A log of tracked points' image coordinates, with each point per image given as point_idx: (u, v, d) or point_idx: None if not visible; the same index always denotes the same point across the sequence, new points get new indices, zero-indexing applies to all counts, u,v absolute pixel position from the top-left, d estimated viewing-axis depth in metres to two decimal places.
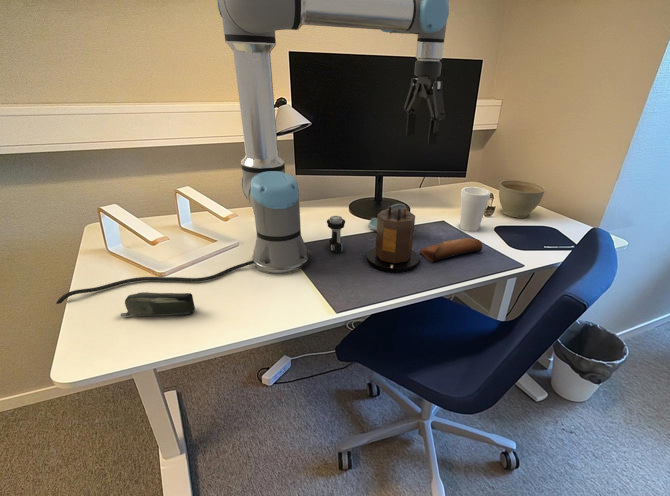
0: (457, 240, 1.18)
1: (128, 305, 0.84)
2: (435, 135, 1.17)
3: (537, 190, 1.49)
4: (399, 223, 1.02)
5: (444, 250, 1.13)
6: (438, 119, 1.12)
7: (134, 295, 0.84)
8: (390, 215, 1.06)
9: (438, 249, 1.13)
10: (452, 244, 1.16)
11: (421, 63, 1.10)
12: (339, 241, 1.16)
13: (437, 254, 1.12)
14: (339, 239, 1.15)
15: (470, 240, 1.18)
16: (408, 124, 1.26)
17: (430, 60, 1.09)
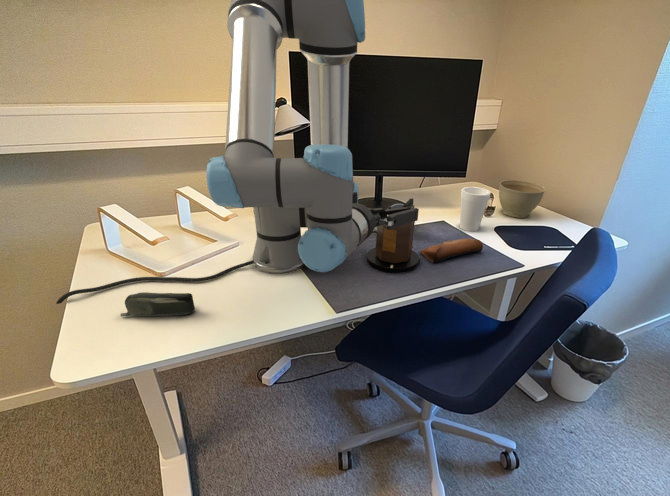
0: (458, 240, 1.18)
1: (128, 305, 0.84)
2: None
3: (537, 190, 1.49)
4: None
5: (445, 250, 1.13)
6: None
7: (134, 295, 0.84)
8: None
9: (439, 250, 1.13)
10: (453, 244, 1.15)
11: None
12: None
13: (438, 255, 1.12)
14: None
15: (470, 240, 1.18)
16: None
17: None
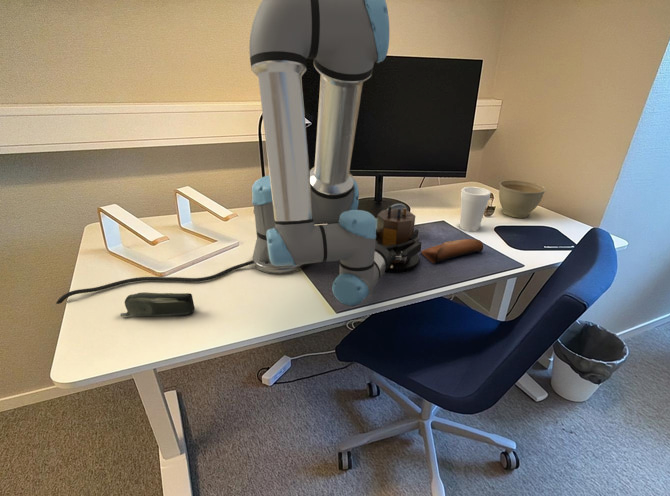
0: (458, 241, 1.18)
1: (128, 305, 0.84)
2: None
3: (537, 190, 1.49)
4: (399, 223, 1.02)
5: (445, 251, 1.13)
6: None
7: (134, 295, 0.84)
8: (390, 215, 1.06)
9: (440, 250, 1.12)
10: (453, 245, 1.15)
11: None
12: None
13: (440, 255, 1.12)
14: None
15: (471, 241, 1.18)
16: None
17: None
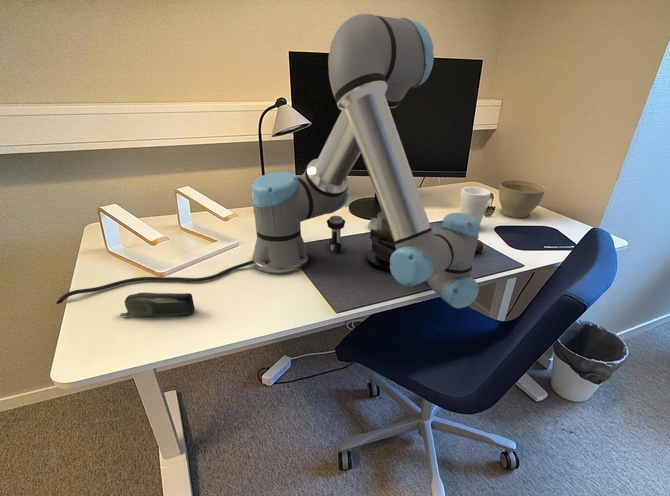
0: None
1: (128, 305, 0.84)
2: None
3: (537, 190, 1.49)
4: None
5: None
6: None
7: (134, 295, 0.84)
8: None
9: None
10: None
11: None
12: (339, 241, 1.16)
13: None
14: (339, 239, 1.15)
15: None
16: None
17: None
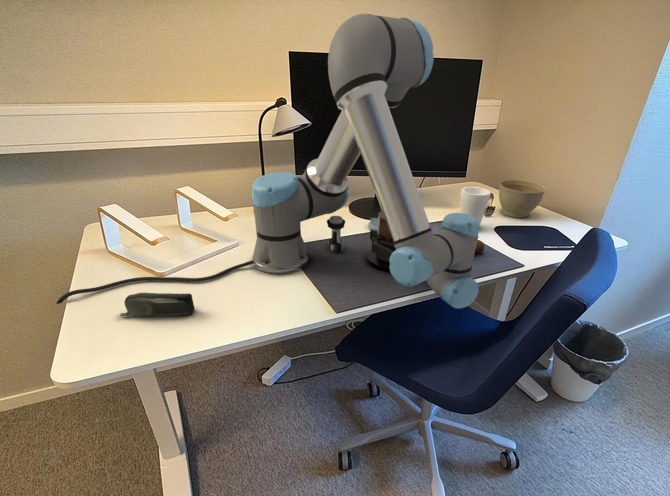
0: None
1: (128, 305, 0.84)
2: None
3: (537, 190, 1.49)
4: None
5: None
6: None
7: (134, 295, 0.84)
8: None
9: None
10: None
11: None
12: (339, 241, 1.16)
13: None
14: (339, 239, 1.15)
15: None
16: None
17: None
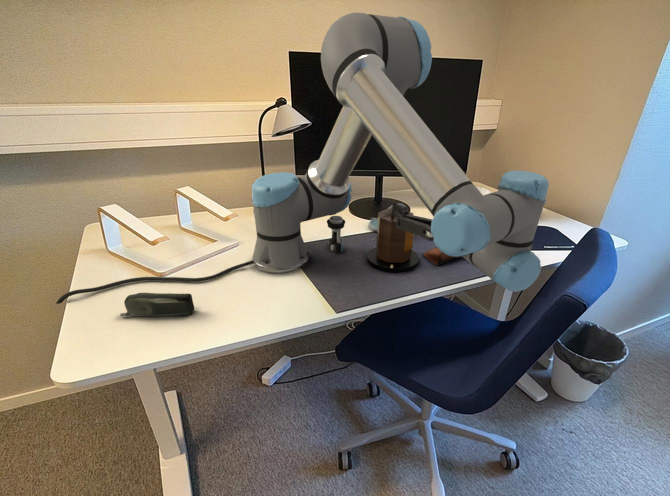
0: None
1: (128, 305, 0.84)
2: None
3: None
4: None
5: None
6: None
7: (133, 295, 0.84)
8: None
9: None
10: None
11: None
12: (339, 241, 1.16)
13: (443, 257, 1.11)
14: (339, 239, 1.15)
15: None
16: None
17: None
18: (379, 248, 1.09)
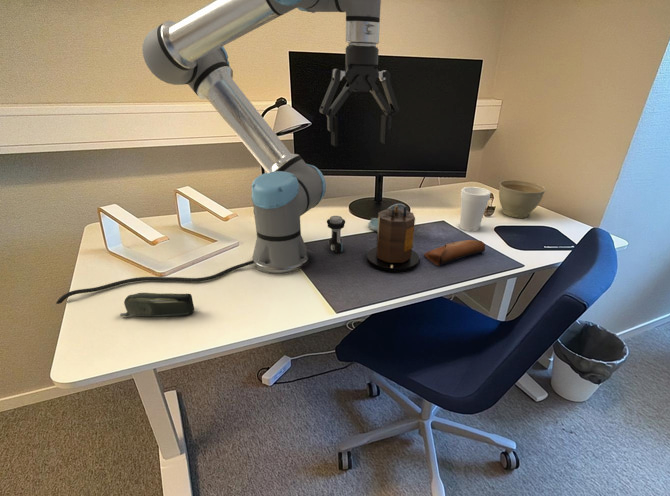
0: (460, 242, 1.17)
1: (128, 305, 0.84)
2: (333, 135, 0.96)
3: (537, 190, 1.49)
4: (414, 218, 1.06)
5: (449, 252, 1.12)
6: (323, 113, 0.94)
7: (133, 295, 0.84)
8: (396, 217, 1.05)
9: (444, 252, 1.11)
10: (457, 246, 1.14)
11: None
12: (339, 241, 1.16)
13: (444, 258, 1.11)
14: (339, 239, 1.15)
15: (473, 242, 1.17)
16: (381, 128, 1.02)
17: (348, 44, 0.89)
18: (379, 248, 1.09)
